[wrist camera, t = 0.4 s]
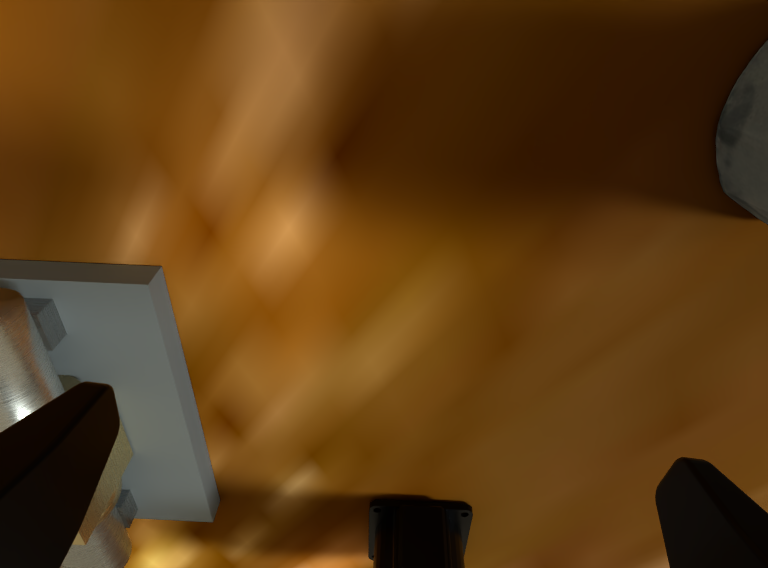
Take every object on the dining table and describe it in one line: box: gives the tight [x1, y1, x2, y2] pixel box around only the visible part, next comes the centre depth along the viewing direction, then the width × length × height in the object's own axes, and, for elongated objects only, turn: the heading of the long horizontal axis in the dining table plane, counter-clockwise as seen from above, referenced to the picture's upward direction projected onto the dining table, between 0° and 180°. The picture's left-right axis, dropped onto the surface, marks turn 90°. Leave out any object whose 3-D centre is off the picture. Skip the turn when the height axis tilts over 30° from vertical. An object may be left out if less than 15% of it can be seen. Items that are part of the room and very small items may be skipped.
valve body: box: [0, 288, 138, 568], centre depth 25 cm, size 18×5×6 cm, turn 178°
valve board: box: [0, 259, 220, 522], centre depth 28 cm, size 18×16×2 cm
